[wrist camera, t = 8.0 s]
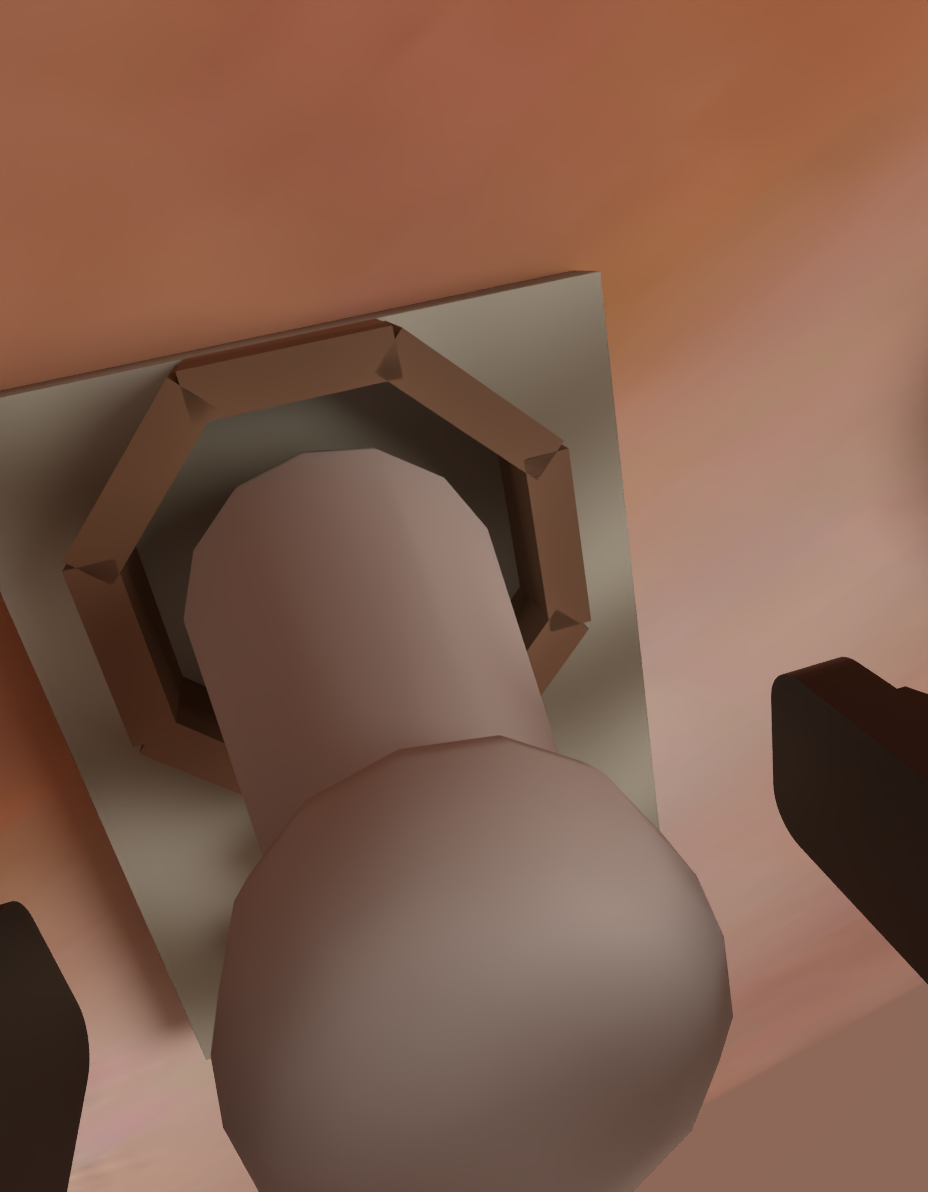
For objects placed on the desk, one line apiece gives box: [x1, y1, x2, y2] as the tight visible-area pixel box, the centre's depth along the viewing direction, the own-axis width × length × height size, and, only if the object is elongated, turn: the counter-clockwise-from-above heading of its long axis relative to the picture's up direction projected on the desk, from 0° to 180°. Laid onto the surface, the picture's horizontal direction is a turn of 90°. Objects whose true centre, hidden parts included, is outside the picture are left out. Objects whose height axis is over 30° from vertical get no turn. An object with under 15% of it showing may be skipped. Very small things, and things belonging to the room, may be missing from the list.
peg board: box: [0, 271, 659, 1060], centre depth 18 cm, size 17×13×6 cm
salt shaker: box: [184, 448, 733, 1192], centre depth 12 cm, size 6×6×13 cm
